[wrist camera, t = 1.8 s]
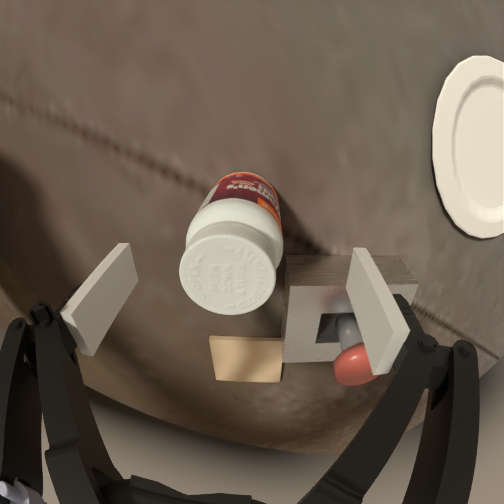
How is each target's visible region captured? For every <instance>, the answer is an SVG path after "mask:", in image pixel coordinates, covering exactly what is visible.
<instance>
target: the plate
mask: <svg viewBox="0 0 504 504" xmlns="http://www.w3.org/2000/svg"><path fill="white" fill-rule="evenodd" d="M432 162H433V168H434V174H435V181H436V186H437V189H438V191H439V194H440V197H441V200H442V203H443V206H444V208H445V209H446V211H447V212H448V214H449V215H450V217H451V218H452V220H453V222H454V223H455V224H456V225H457V226H458V227H459V228H461V229H462V230H463V231H464V232H466V233H467V234H468V235H471V236H475V237H478V238H482V239H483V238H490V237H496V236H498V235H500V234H502V233H504V63H503V62H501V61H499V60H496V59H494V58H492V57H489V56H471V57H469V58H467V59H465V60H463V61H461V62H459V63H457V65H456V66H455V67H454V68H453V70H452V71H451V72H450V73H449V75H448V76H447V77H446V78H445V80H444V83H443V85H442V88H441V91H440V93H439V96H438V98H437V100H436V106H435V112H434V118H433V124H432Z"/></svg>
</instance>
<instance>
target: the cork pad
mask: <svg viewBox="0 0 504 504" xmlns="http://www.w3.org/2000/svg"><path fill="white" fill-rule="evenodd" d="M209 342H210V347H211V353H212V359H213V364H214V369H215V375H216V380H225V381H244V382H280V376H281V368H282V341H281V338H260V337H229V336H210V337H209Z"/></svg>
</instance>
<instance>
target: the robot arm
mask: <svg viewBox="0 0 504 504" xmlns="http://www.w3.org/2000/svg"><path fill="white" fill-rule="evenodd" d="M137 282H138V277H137V273H136V269H135V265H134V261H133V257H132V253H131V249H130V244H129V243H119V244H118V245H117V246H116V247H115V248H114V249H113V250H112V251H111V252H110V253H109V254H108V255H107V257H106V258H105V259H104V260H103V261H102V262H101V263H100V264H99V266H98V267H97V268H96V269H95V270H94V271H93V272H92V274H91V275H90V276H89V277H88V278H87V279H86V281H85V282H84V283H81V284H80V285H79V286H77V287H76V288H74V290H73V291H72V292H71V293H70V295H69V296H68V297H67V298H66V300H65V301H64V302H63V303H62V304H61V306H60V307H59V308H58V309H57V311H56V312H55V313H53V311H52V309H51V307H50V304H49V303H48V302H46V301H42V302H38V303H37V304H35V305H34V306H32V307H31V309H30V310H29V313H28V315H29V316H30V318H31V320H32V322H33V324H34V325H28V323H27V322H26V320H25V319H24V318H17V319H15V320H13V321H12V322H11V323H10V325H9V327H8V329H7V332H6V335H5V338H4V341H3V344H2V347H1V350H0V504H47V503H46V502H44V500H43V499H42V495H43V472H42V455H41V420H42V413H43V418H44V424H45V428H46V433H47V437H48V442H49V447H50V448H49V449H48V450H46V451H45V459H46V464H47V467H48V470H49V474H50V477H51V480H52V483H53V486H54V489H55V492H56V495H57V497H58V500H59V502H60V504H265V503H263V502H260V501H257V500H253V499H252V496H250V495H235V494H224V493H216V494H201V495H186V494H183V493H181V492H178V491H176V490H174V489H172V488H170V487H168V486H165V485H163V484H161V483H159V482H157V481H153V480H149V479H145V478H141V477H138V476H135V475H131V479H123V477H122V476H121V475H120V473H119V472H118V471H117V469H116V468H115V467H114V465H113V464H112V462H111V459H110V457H109V455H108V452H107V450H106V448H105V445H104V443H103V440H102V438H101V435H100V433H99V430H98V427H97V424H96V422H95V419H94V416H93V413H92V410H91V407H90V404H89V400H88V397H87V394H86V391H85V387H84V383H83V379H82V375H81V372H80V367H79V363H78V359H77V355H76V353H75V351H74V350H75V348H76V347H77V346H78V348H79V350H80V352H81V353H82V354H85V355H89V356H94V354H95V352H96V350H97V349H98V347H99V345H100V343H101V341H102V340H103V338H104V336H105V334H106V333H107V331H108V329H109V328H110V326H111V324H112V323H113V321H114V319H115V318H116V316H117V314H118V313H119V311H120V309H121V308H122V306H123V305H124V303H125V301H126V300H127V298H128V297H129V295H130V293H131V292H132V290H133V289H134V287H135V286H136V284H137ZM346 290H347V293H348V296H349V298H350V301H351V304H352V307H353V310H354V313H355V316H356V319H357V323H358V326H359V329H360V332H361V335H362V338H363V342H364V345H365V348H366V352H367V355H368V359H369V362H370V366H371V369H372V373H373V375H379V374H388V373H389V371H390V369H391V367H392V366H393V367H394V370H395V373H394V375H393V377H392V378H391V380H390V382H389V383H388V385H387V387H386V389H385V391H384V392H383V394H382V396H381V397H380V399H379V401H378V402H377V404H376V406H375V407H374V409H373V410H372V412H371V413H370V415H369V416H368V418H367V419H366V421H365V422H364V424H363V425H362V427H361V428H360V430H359V431H358V432H357V434H356V435H355V437H354V438H353V439H352V441H351V442H350V443H349V445H348V446H347V447H346V449H345V450H344V451H343V453H342V454H341V455H340V456H339V458H338V459H337V460H336V461H335V463H334V464H333V465H332V466H331V467H330V469H329V470H328V471H327V472H326V473H325V474H324V476H323V477H322V478H321V479H320V480H319V481H318V482H317V483H316V485H315V486H314V487H313V488H312V489H311V490H310V491H309V492H308V493H307V494H306V495H305V496H304V497H303V498H302V499H301V500H300V501H299V502H298V503H297V504H361V503H362V500H363V497H364V495H365V494H366V492H367V491H368V489H369V488H370V487H371V485H372V483H373V482H374V481H375V479H376V478H377V477H378V475H379V473H380V472H381V470H382V469H383V467H384V466H385V464H386V463H387V461H388V459H389V458H390V456H391V454H392V453H393V451H394V449H395V448H396V446H397V444H398V442H399V441H400V439H401V437H402V435H403V433H404V431H405V429H406V428H407V426H408V424H409V422H410V420H411V418H412V416H413V414H414V411H415V409H416V407H417V405H418V403H419V401H420V398H421V396H422V394H423V391H424V389H425V388H428V389H429V392H428V400H427V407H426V413H425V419H424V425H423V430H422V435H421V440H420V445H419V449H418V453H417V457H416V461H415V465H414V468H413V472H412V475H411V479H410V482H409V485H408V488H407V491H406V494H405V497H404V500H403V503H402V504H467V503H468V499H469V495H470V491H471V486H472V481H473V475H474V469H475V461H476V455H477V444H478V433H479V410H480V409H479V408H480V403H479V402H480V401H479V400H480V398H479V397H480V395H479V371H478V358H477V351H476V348H475V347H474V346H473V344H471V343H470V342H469V341H466V340H458V341H456V343H455V344H454V345H453V347H447V346H441V345H439V344H438V342H437V341H436V339H435V338H434V337H432V336H430V335H428V334H425V333H424V331H423V329H422V327H421V326H420V324H419V322H418V320H417V318H416V316H415V314H414V312H413V310H412V309H411V307H410V305H409V303H408V301H407V300H406V299H405V298H404V297H403V296H402V295H401V294H391V292H390V290H389V288H388V286H387V284H386V282H385V281H384V279H383V277H382V275H381V273H380V271H379V270H378V268H377V266H376V264H375V263H374V261H373V259H372V257H371V256H370V254H369V252H368V251H367V249H366V248H353V254H352V259H351V264H350V269H349V274H348V279H347V284H346ZM24 357H25V358H26V359H25V362H24Z"/></svg>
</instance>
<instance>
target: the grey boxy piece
mask: <svg viewBox="0 0 504 504" xmlns="http://www.w3.org/2000/svg"><path fill="white" fill-rule="evenodd" d="M371 257H372V259H373V261H374V263H375V264H376V266H377V268H378V270H379V271H380V273H381V275H382V277H383V279H384V281H385V282H386V284H387V286H388V288H389V290H390V292H391V294H401V295H402V296H403V297H404V298H405V299H406V300H407V301H408V303H409V305H410V306H411V303H412V301H413V298H414V295H415V293H416V290H417V287H418V285H419V284H418V282H417V281H416V279H415V278H414V276H413V275H412V274H411V272H410V271H409V269H408V268H407V266H406V265H405V264H404V262H403V261H402V260H401V258H400V257H399V256H371ZM351 259H352V255H286V269H285V283H284V297H283V310H282V322H281V341H282V362H323V361H334V360H335V358H336V357H337V356H338V355H339V354H340V353H341V352H342V351H341V347H340V343H339V339H338V335H337V331H336V327H335V320H336V318H337V317H338V316H339V315H341V314H342V313H353V312H354V310H353V307H352V304H351V301H350V298H349V296H348V293H347V290H346V284H347V279H348V274H349V269H350V264H351Z"/></svg>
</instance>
